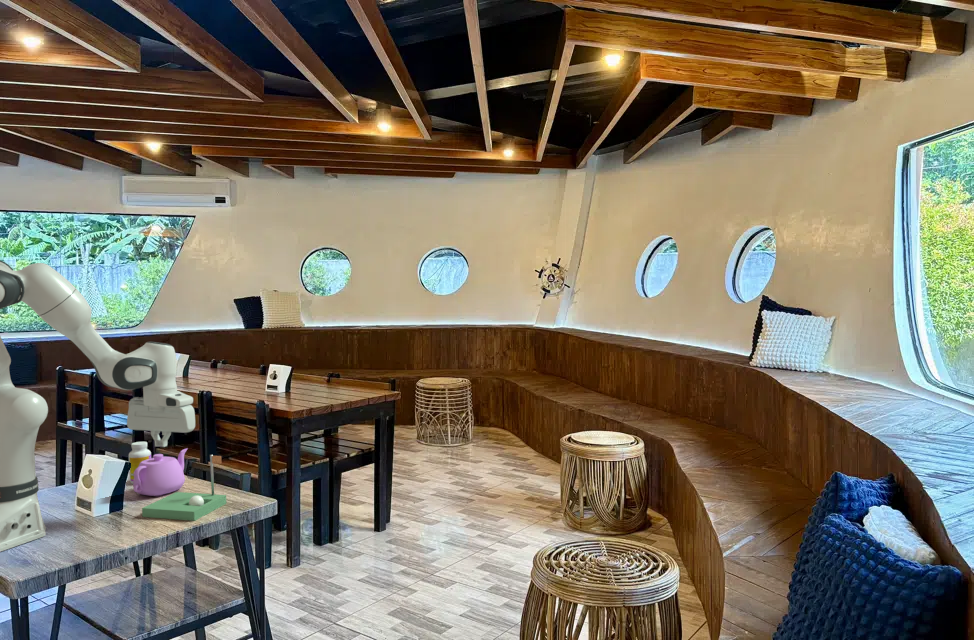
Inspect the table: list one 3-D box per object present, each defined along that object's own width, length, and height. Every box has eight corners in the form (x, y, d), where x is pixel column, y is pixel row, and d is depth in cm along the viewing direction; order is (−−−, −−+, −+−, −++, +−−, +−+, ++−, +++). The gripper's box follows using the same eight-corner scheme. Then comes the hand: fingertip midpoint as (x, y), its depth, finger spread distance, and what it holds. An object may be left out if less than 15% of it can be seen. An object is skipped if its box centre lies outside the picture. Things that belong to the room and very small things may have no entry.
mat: (194, 520, 200) (194, 511, 200) (142, 516, 204) (142, 508, 204) (226, 503, 215) (226, 495, 215) (177, 500, 219) (176, 491, 219)
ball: (198, 499, 206) (186, 497, 207) (197, 513, 207) (185, 510, 208) (207, 494, 210) (194, 492, 211) (206, 508, 211) (194, 505, 212)
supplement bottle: (153, 482, 238) (151, 443, 237) (130, 486, 234) (128, 446, 233) (151, 477, 243) (149, 439, 242) (129, 481, 240) (127, 442, 239)
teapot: (150, 503, 217) (148, 463, 216) (120, 497, 223) (117, 459, 222) (203, 484, 235) (201, 448, 234) (173, 479, 241) (172, 444, 240)
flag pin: (222, 496, 214) (220, 455, 213) (211, 495, 215) (209, 455, 214) (223, 495, 215) (221, 455, 214) (212, 494, 215) (210, 454, 215)
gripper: (121, 398, 209) (122, 446, 209) (184, 401, 204) (184, 450, 204) (136, 395, 215) (137, 442, 215) (198, 398, 210) (198, 445, 210)
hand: (161, 446), depth 210 cm, fingers closed
